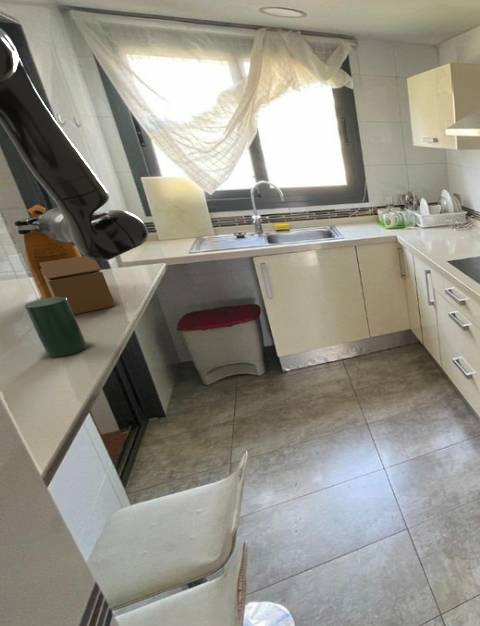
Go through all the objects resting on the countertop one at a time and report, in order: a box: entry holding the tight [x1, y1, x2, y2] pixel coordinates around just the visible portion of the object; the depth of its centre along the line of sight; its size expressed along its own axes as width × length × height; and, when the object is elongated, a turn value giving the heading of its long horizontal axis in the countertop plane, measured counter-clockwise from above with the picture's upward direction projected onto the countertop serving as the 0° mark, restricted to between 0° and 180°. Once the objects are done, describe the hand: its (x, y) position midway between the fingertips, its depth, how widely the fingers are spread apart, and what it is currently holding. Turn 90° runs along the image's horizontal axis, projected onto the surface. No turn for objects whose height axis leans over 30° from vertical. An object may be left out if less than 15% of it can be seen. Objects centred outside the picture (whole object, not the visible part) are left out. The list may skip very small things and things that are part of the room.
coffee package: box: [23, 204, 82, 299], centre depth 113 cm, size 10×12×22 cm
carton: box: [40, 269, 116, 315], centre depth 108 cm, size 12×9×9 cm
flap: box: [39, 255, 102, 279], centre depth 104 cm, size 6×9×1 cm, turn 143°
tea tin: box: [24, 297, 88, 358], centre depth 86 cm, size 5×5×10 cm
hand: (42, 219), depth 101 cm, fingers closed
